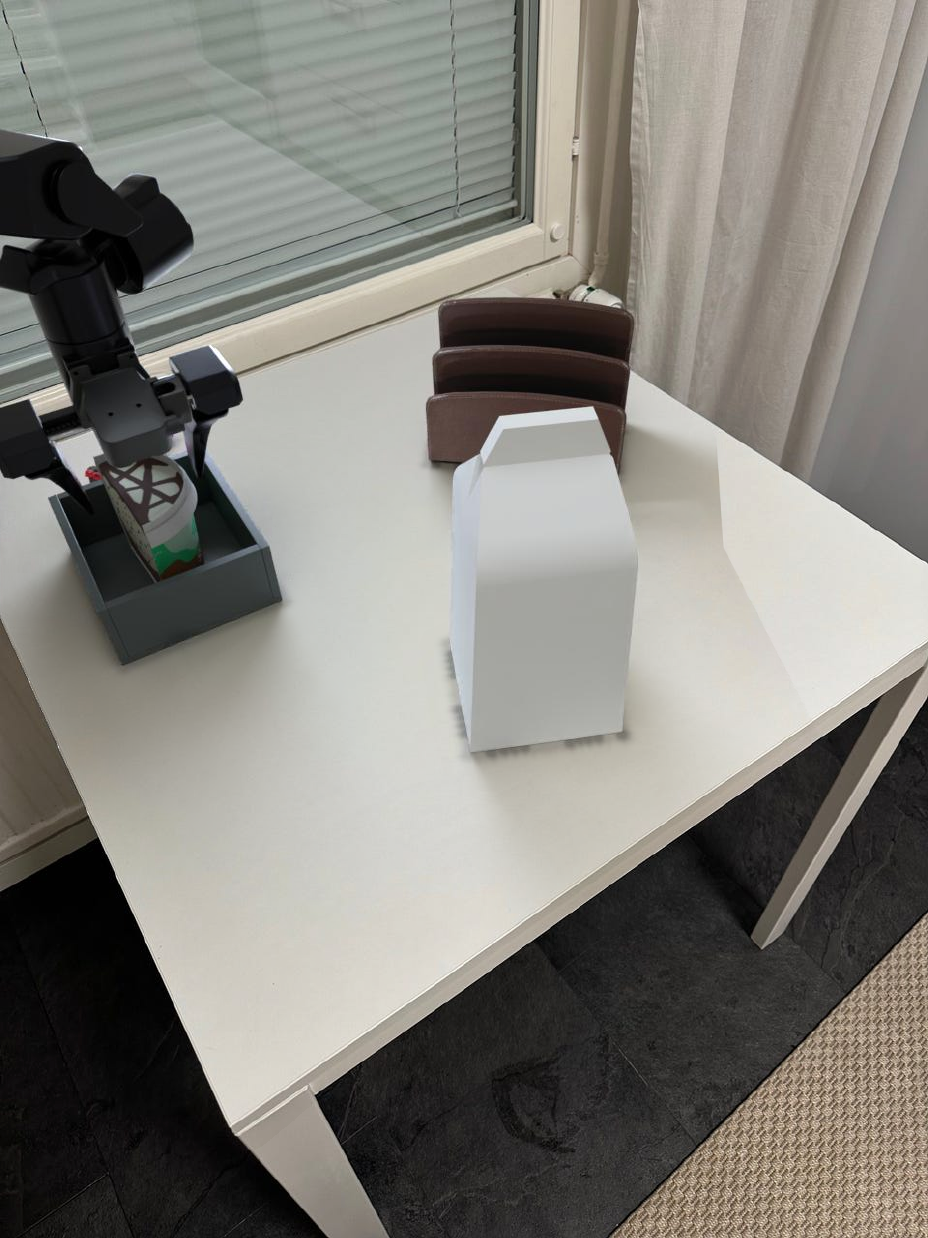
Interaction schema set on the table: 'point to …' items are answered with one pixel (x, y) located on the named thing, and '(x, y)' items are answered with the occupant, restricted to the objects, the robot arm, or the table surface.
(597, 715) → the milk
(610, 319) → the letter holder
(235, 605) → the storage box
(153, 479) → the cake slice
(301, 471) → the table surface
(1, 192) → the robot arm
